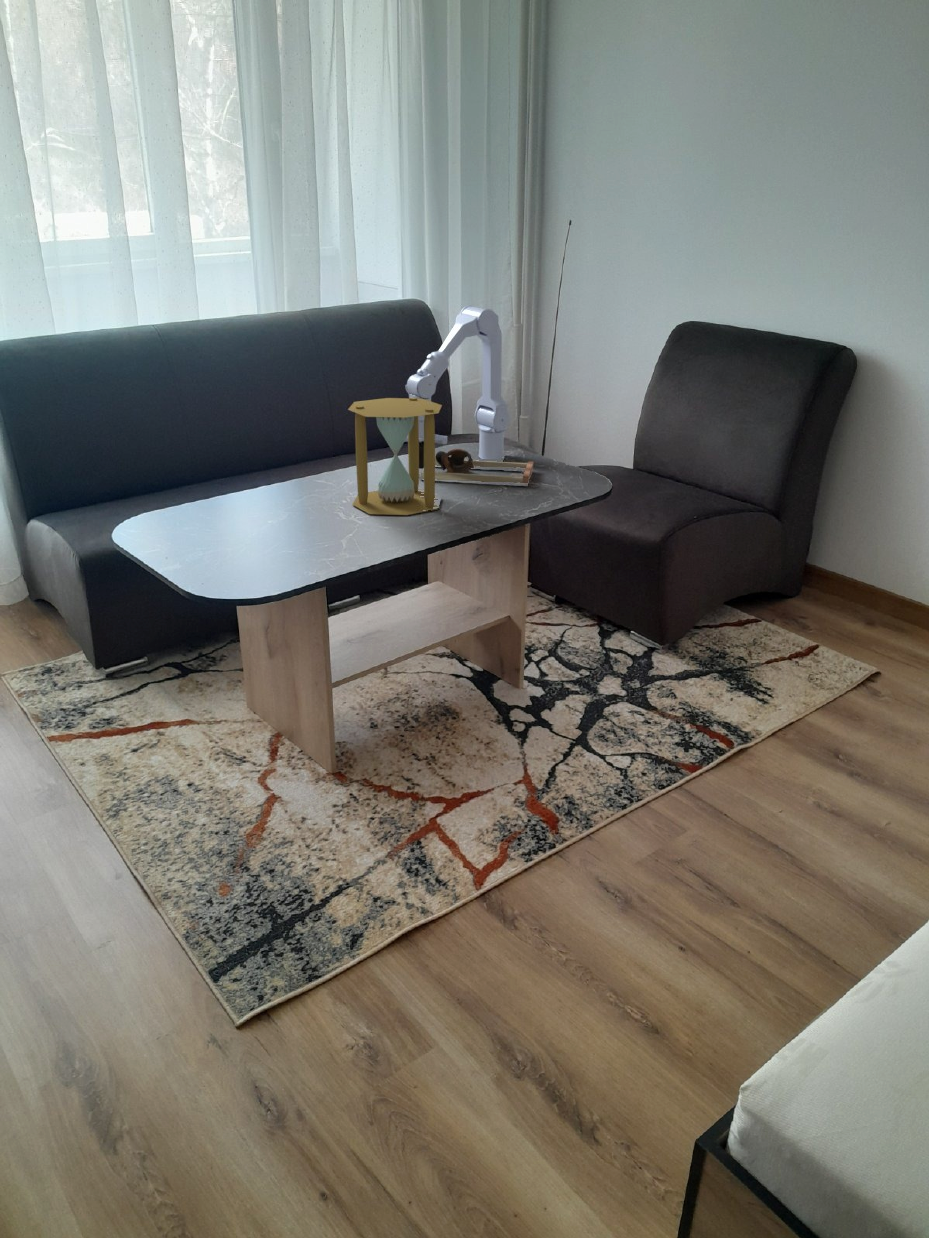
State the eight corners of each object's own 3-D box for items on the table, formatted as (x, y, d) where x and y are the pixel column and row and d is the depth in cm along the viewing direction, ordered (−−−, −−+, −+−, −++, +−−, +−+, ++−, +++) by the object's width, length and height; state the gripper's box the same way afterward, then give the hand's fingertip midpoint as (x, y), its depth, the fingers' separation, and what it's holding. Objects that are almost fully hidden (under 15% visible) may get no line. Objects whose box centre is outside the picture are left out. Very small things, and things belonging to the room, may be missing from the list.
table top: (431, 466, 271) (431, 456, 270) (533, 472, 267) (533, 461, 266) (420, 481, 258) (420, 470, 256) (527, 487, 254) (528, 476, 252)
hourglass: (432, 487, 253) (432, 393, 242) (453, 513, 233) (453, 412, 223) (345, 493, 247) (341, 397, 237) (358, 520, 227) (354, 417, 217)
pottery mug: (478, 473, 267) (480, 452, 261) (463, 494, 263) (464, 474, 256) (441, 457, 270) (442, 437, 263) (425, 478, 265) (425, 458, 259)
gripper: (391, 421, 256) (392, 470, 261) (444, 424, 254) (444, 473, 259) (397, 415, 262) (398, 463, 268) (448, 418, 260) (448, 466, 266)
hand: (421, 467), depth 264 cm, fingers closed
